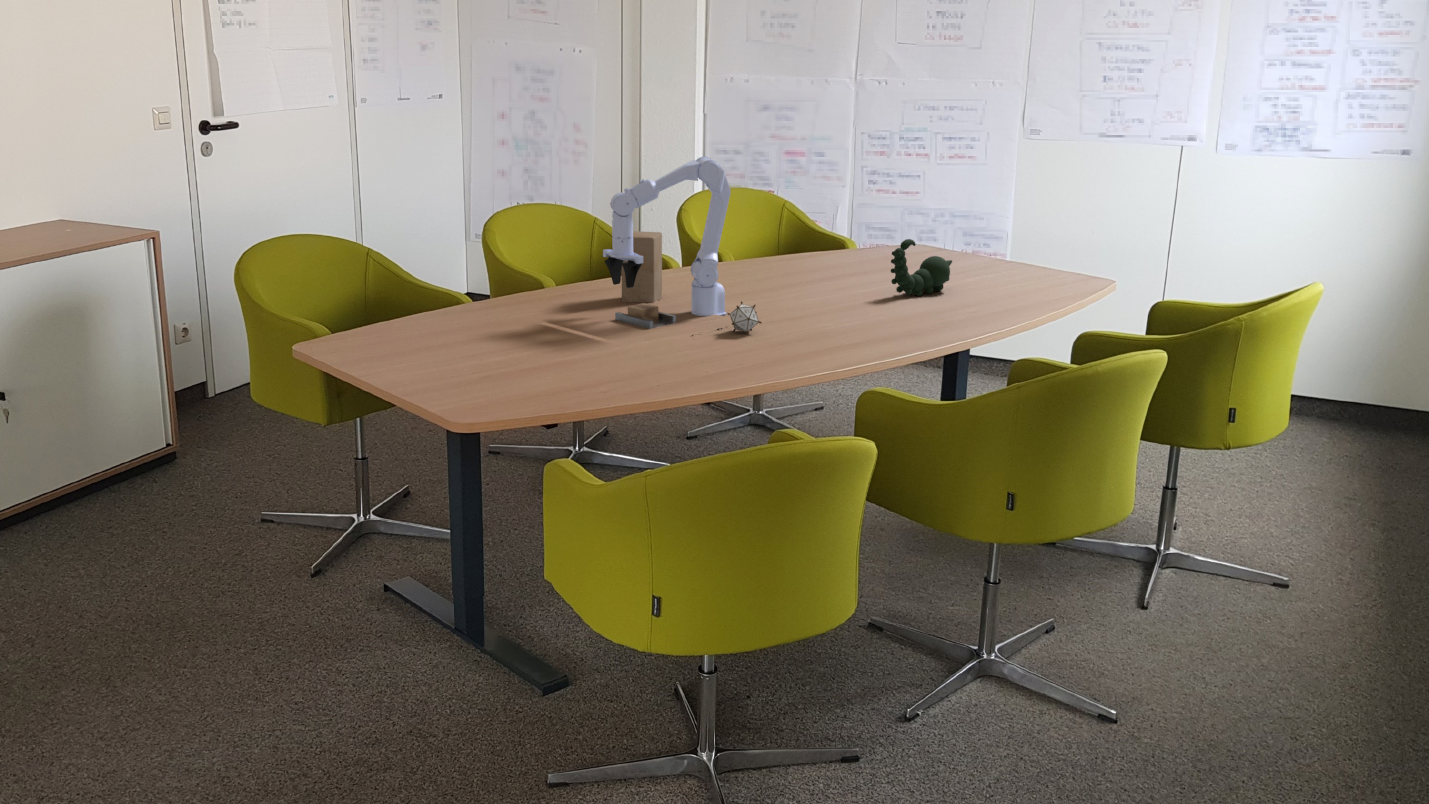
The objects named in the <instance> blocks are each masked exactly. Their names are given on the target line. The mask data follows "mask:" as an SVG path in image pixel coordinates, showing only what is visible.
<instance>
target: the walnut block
mask: <svg viewBox="0 0 1429 804" xmlns="http://www.w3.org/2000/svg"><path fill="white" fill-rule="evenodd" d="M658 311H659V306H658V305H654V304H653V305H652V304H649V303H648V304H647V303H646V302H641V303H638V304H633V305H628V306H627V314H628V315H632V316H636V317H640V318H644V319H648V320H652V321H653V322H655V321H658Z"/></svg>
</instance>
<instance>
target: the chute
mask: <svg viewBox="0 0 1429 804" xmlns="http://www.w3.org/2000/svg"><path fill="white" fill-rule="evenodd" d="M614 315H615V321H616V322H617V321H618V322H622V323H626V324H629V325H633V326H636V327H640V328H643V329H649V330H651V329H656V328H661V327H664V326H670V325H673V324H677V315H674V314H671V313H666V312H663V311H659V310H658V321H655V322H653V321H652V320H648V319H644V318H640V317H636V316H632V315H628V313H623V312H619V311H617V312H614ZM699 333H702V331H701V332H699Z"/></svg>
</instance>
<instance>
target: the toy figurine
mask: <svg viewBox="0 0 1429 804" xmlns="http://www.w3.org/2000/svg"><path fill="white" fill-rule="evenodd" d="M916 245H917V244H916V242H915V240H913V239H911V238H907V239H905V240H903V241H901V242H900V247H897V248H895V250H893V251H891V255H892V256H893V257H894V258H892V259H890V263H891V264H893V265H894V267H893V268H890V273H892V274H895V276H894V278H892V279H891V284H892V285H896V284H897V287H896V288H895V289H896V292H897V293H903V292H904V293H905V295H907V296H908V295H909V296H910V295H916V296H917V297H922V295H923V293H924V291H925V293H926V294H932V293H933V292H934V291H935V292H940V291H943V289H944V284H945V283H947V282H949V281H950V275H951V268H950V266H951V265H952V264H953V260H951V259H949V260H946V259H944V257H941V256H938V255H933V256H929V257H927V258H925V259H924V260H923V261H922V262H921V264H920V265H919V269H917V270H916V271H914V272H913V273H912V274H910V272H909V267H908V265H907V262H908V261H907V258H906V250H907V249H909V247H911V246H914V247H915V246H916Z"/></svg>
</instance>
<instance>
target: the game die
mask: <svg viewBox="0 0 1429 804" xmlns="http://www.w3.org/2000/svg"><path fill="white" fill-rule="evenodd" d="M743 303H744V302H743V301H740V305H736V307H735V309H734V310H733V311H732V312H726V313H727V314H726V315H728V316H729V317H730V320H731V325H732V326H733V329H732V332H734V333H735V332H736V331H739V332H740V331H741V332H744V333H745V335H746V336H748V334H749V333H748V332H749V331H753V328H754V327H755V326H756V325H758V324H762V323H763V322H762V321H760V320H759V318H758V315H757V311H756V309H755V308H756V305H757V304H753V305H748V304H743Z"/></svg>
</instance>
